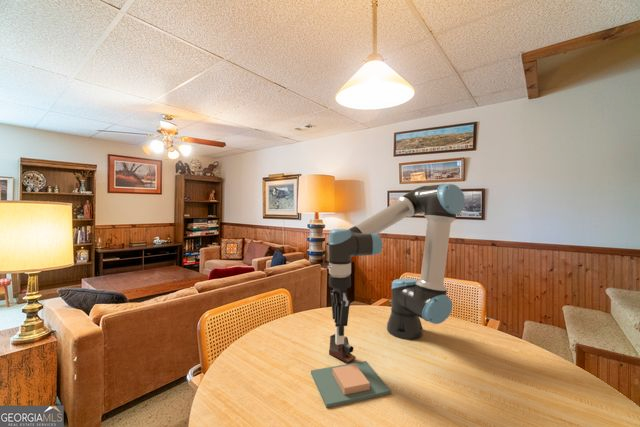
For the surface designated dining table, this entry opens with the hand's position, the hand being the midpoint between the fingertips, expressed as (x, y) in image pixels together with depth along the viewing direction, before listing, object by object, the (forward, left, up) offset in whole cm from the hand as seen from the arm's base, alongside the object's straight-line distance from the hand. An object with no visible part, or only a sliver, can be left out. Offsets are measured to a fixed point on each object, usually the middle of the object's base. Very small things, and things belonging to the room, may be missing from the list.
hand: (339, 343), depth 93 cm
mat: (0, +9, -8) cm, 12 cm away
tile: (0, +5, -6) cm, 8 cm away
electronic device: (-3, -5, -8) cm, 10 cm away
